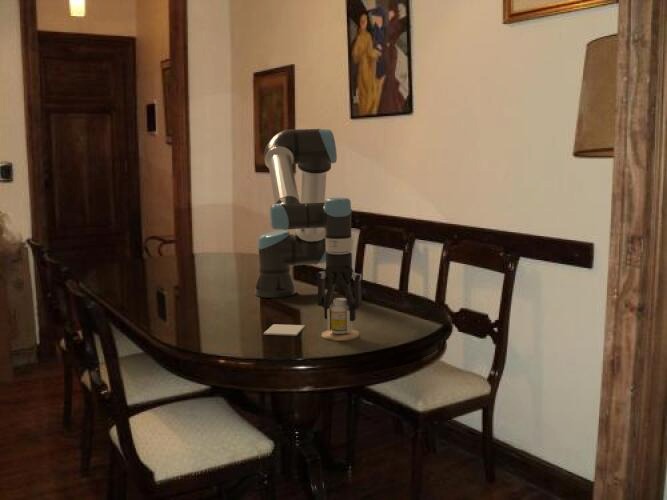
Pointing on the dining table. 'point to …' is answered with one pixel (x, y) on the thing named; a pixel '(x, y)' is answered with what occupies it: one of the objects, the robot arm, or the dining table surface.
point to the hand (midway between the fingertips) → (340, 330)
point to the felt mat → (284, 330)
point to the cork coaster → (340, 336)
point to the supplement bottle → (339, 316)
